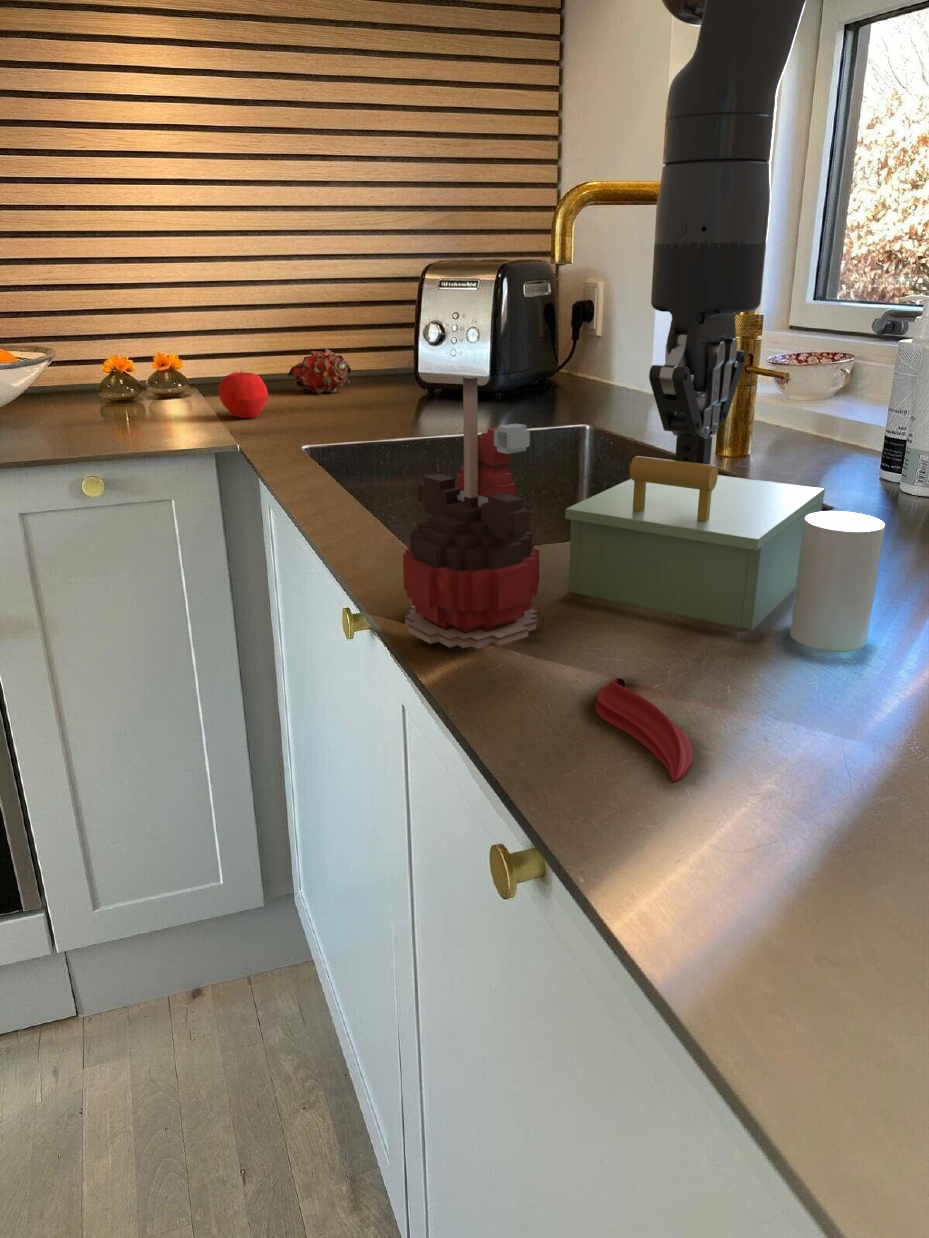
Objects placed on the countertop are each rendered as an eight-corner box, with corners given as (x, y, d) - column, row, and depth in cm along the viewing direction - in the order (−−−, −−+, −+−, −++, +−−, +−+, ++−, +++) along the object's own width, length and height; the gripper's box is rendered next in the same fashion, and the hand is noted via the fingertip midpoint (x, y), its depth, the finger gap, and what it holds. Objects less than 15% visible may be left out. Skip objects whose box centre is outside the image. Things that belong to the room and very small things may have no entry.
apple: (212, 417, 154) (207, 371, 151) (256, 411, 159) (251, 366, 156) (233, 423, 148) (228, 375, 146) (278, 418, 153) (274, 371, 150)
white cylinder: (872, 642, 66) (893, 517, 62) (855, 667, 62) (875, 536, 58) (800, 627, 68) (816, 507, 65) (778, 650, 64) (794, 524, 61)
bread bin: (750, 640, 66) (761, 548, 64) (567, 600, 74) (570, 516, 71) (812, 578, 78) (823, 498, 76) (649, 549, 86) (654, 476, 83)
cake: (377, 624, 70) (366, 375, 63) (476, 596, 75) (475, 364, 68) (466, 672, 62) (463, 393, 55) (569, 637, 67) (578, 379, 60)
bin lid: (756, 550, 63) (764, 480, 61) (564, 518, 71) (566, 455, 69) (823, 498, 76) (831, 438, 74) (654, 476, 83) (658, 421, 81)
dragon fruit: (357, 401, 178) (295, 411, 179) (357, 370, 183) (297, 379, 184) (345, 367, 171) (281, 378, 172) (345, 336, 175) (283, 346, 177)
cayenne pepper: (589, 682, 60) (590, 654, 59) (661, 682, 60) (663, 654, 59) (612, 781, 49) (614, 749, 48) (701, 782, 49) (704, 749, 48)
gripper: (729, 238, 57) (706, 513, 64) (794, 236, 67) (768, 474, 74) (617, 239, 61) (606, 498, 68) (694, 237, 71) (678, 463, 78)
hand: (690, 485), depth 71 cm, fingers closed
